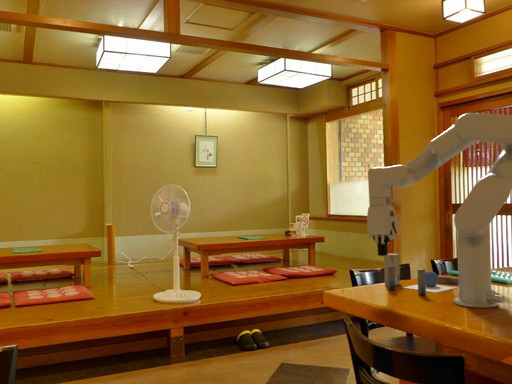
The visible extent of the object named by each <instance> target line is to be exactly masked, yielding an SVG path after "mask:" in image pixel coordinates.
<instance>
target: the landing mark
mask: <svg viewBox="0 0 512 384" xmlns="http://www.w3.org/2000/svg"><path fill="white" fill-rule="evenodd" d="M402 288H403V289H407V290H415V291H418V283H417V284H413V285H408V286H403V287H402ZM456 289H457V287H454V286H448V285H443V284H442V285H439V284H437V285H436V286H434V287H428V286H426V293H433V294H437V293H442V292H447V291H449V290H450V291H451V290H456Z"/></svg>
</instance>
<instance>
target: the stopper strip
mask: <svg viewBox="0 0 512 384" xmlns="http://www.w3.org/2000/svg"><path fill="white" fill-rule="evenodd" d="M437 276H438V278H439V281H438V283H439V284H447V285H455V286H459V280H458V277H453V276H445V275H438V274H437ZM438 283H437V284H438Z"/></svg>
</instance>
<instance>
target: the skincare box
mask: <svg viewBox="0 0 512 384" xmlns="http://www.w3.org/2000/svg"><path fill="white" fill-rule="evenodd" d="M400 257H401V256H400V253H388V255H385V256H383V266H384V268H383V270H384V286H388V267H387V266H395V287H396V286H398V285H400V284H401V267H400V266H401V263H400V259H401V258H400Z"/></svg>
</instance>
